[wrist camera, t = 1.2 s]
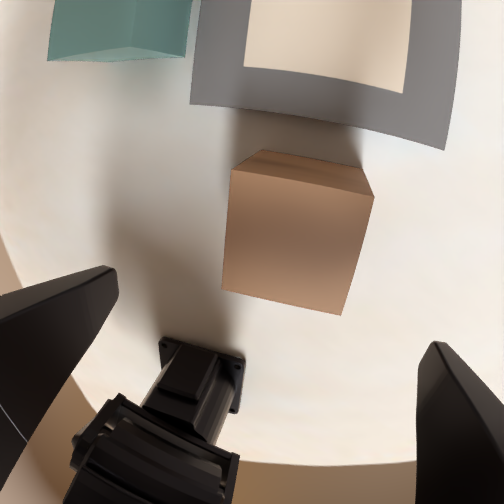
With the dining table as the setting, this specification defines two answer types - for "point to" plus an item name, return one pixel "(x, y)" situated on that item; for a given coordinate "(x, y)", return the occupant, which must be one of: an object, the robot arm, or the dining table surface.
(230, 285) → the walnut block
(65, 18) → the teal block
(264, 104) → the grey square frame
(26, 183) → the dining table surface
